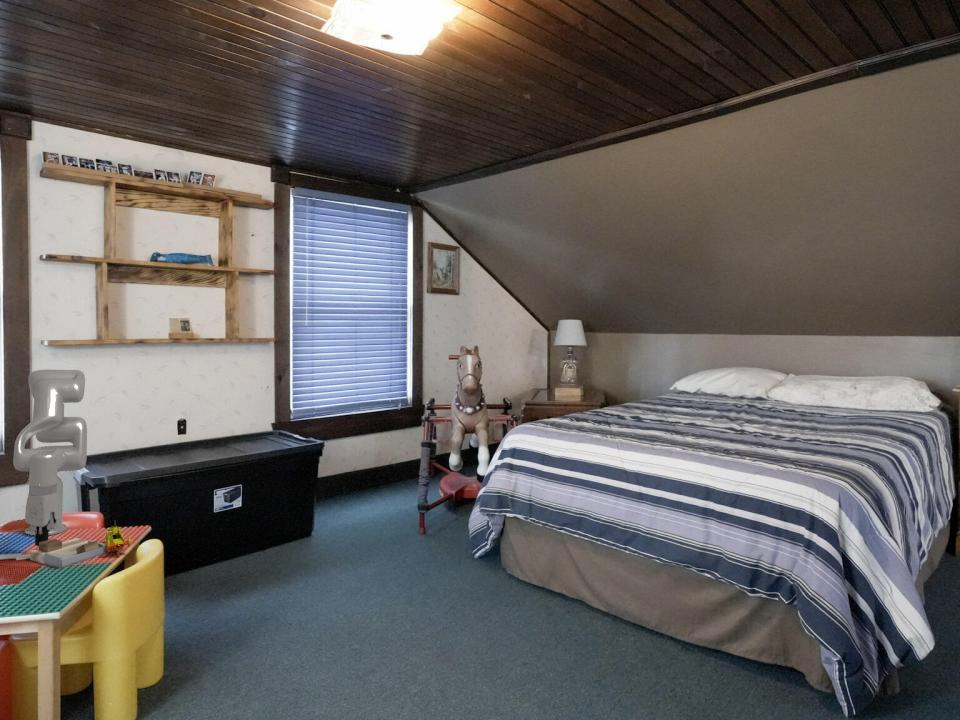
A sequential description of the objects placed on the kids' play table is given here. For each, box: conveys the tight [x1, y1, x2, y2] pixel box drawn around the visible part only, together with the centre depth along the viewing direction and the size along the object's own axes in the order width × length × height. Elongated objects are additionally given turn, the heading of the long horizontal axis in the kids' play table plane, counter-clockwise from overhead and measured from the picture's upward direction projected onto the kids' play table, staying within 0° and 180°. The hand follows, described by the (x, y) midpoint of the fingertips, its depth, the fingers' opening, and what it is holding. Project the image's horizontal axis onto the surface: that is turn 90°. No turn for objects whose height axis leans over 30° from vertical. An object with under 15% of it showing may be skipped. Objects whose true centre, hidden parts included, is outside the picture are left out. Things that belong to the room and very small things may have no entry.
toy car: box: [104, 520, 131, 556], centre depth 210 cm, size 6×18×10 cm, turn 39°
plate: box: [30, 537, 89, 565], centre depth 202 cm, size 7×15×3 cm, turn 157°
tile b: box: [38, 538, 63, 553], centre depth 199 cm, size 4×4×2 cm
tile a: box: [76, 540, 99, 554], centre depth 203 cm, size 4×4×2 cm
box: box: [43, 539, 106, 570], centre depth 200 cm, size 8×15×4 cm, turn 157°
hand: (41, 544), depth 201 cm, fingers closed
